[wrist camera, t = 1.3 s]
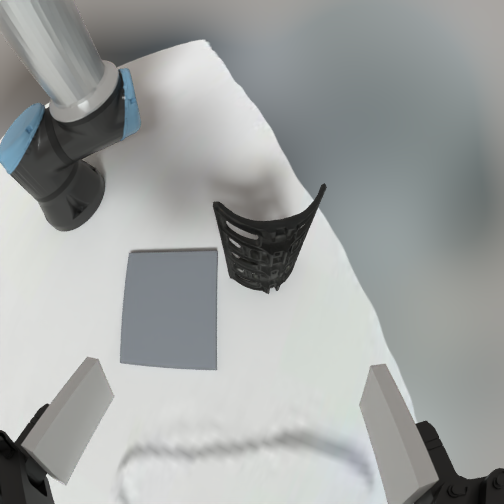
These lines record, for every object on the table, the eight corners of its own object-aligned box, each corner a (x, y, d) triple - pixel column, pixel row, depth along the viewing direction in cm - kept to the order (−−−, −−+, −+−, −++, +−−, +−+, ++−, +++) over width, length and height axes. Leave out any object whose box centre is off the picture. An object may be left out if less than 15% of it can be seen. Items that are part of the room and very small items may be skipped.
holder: (286, 235, 45) (303, 150, 26) (309, 276, 42) (346, 208, 24) (223, 263, 43) (199, 189, 25) (243, 307, 41) (231, 259, 22)
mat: (131, 255, 44) (129, 253, 43) (217, 253, 44) (216, 250, 43) (122, 363, 37) (120, 362, 36) (216, 369, 37) (215, 370, 36)
